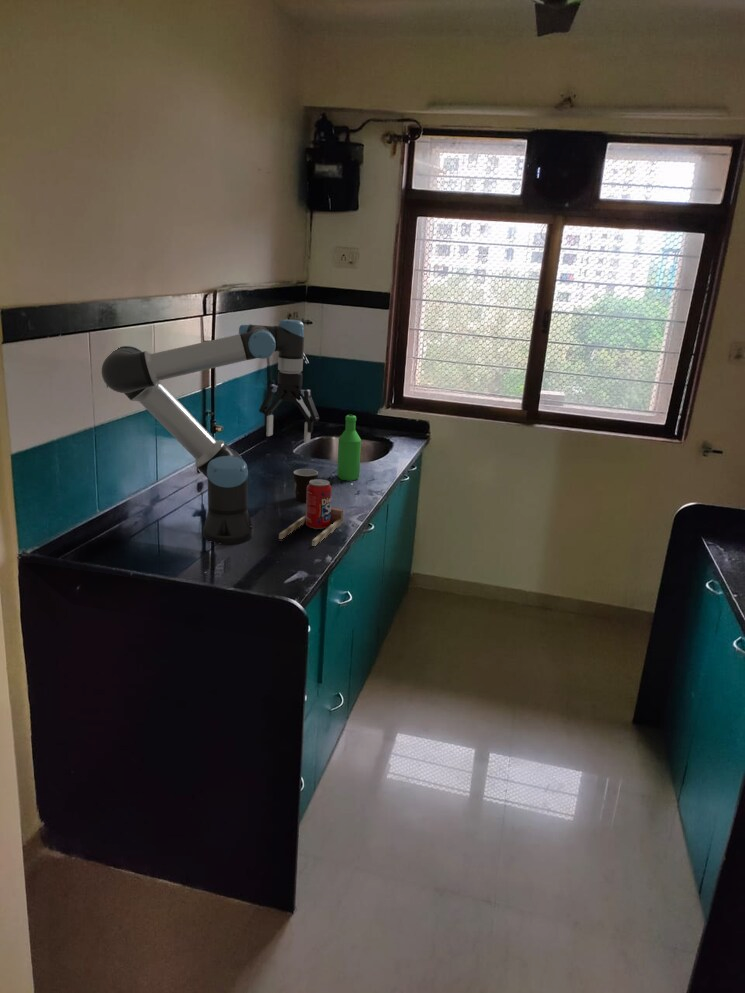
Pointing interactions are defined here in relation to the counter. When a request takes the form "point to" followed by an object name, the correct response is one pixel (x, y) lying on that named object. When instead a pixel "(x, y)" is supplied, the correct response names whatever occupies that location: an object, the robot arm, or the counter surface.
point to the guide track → (335, 519)
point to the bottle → (349, 451)
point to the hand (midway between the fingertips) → (288, 438)
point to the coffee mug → (303, 482)
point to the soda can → (318, 504)
